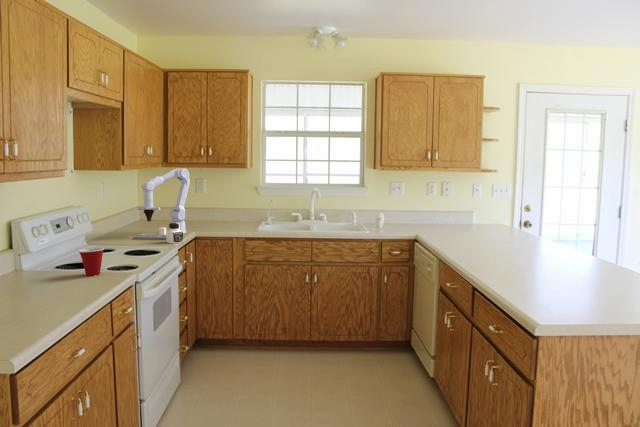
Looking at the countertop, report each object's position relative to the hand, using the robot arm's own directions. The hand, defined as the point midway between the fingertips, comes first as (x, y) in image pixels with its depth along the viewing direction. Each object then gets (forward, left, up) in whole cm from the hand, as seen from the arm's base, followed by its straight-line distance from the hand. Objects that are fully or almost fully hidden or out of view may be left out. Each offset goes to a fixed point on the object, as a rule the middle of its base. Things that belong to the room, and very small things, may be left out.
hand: (149, 221), depth 330 cm
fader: (+2, +10, -9) cm, 13 cm away
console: (+2, +4, -10) cm, 11 cm away
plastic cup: (+99, +17, -11) cm, 101 cm away
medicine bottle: (+16, +23, -11) cm, 30 cm away
